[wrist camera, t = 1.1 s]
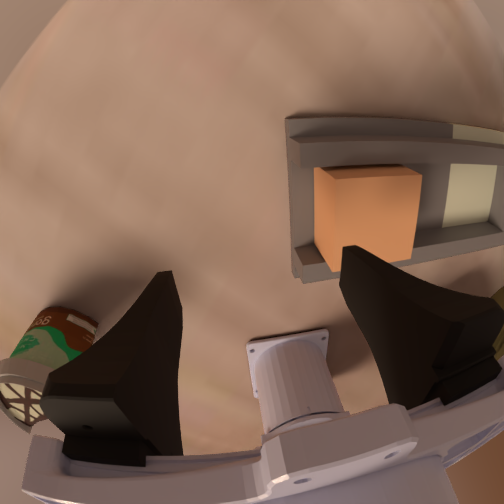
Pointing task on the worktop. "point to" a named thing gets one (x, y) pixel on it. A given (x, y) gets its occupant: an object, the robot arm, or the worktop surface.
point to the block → (366, 210)
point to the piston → (503, 340)
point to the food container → (41, 361)
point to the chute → (415, 158)
